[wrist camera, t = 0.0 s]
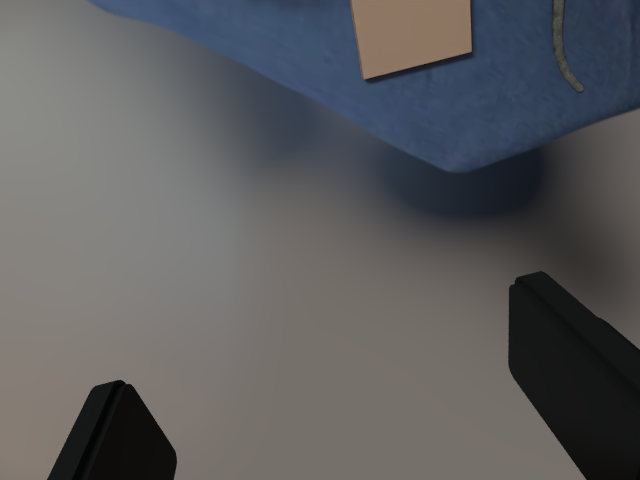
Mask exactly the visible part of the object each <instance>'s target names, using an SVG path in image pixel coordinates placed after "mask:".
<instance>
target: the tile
mask: <svg viewBox="0 0 640 480" xmlns="http://www.w3.org/2000/svg"><path fill="white" fill-rule="evenodd" d="M350 6H351V13H352V19H353V25H354V31H355V38H356V44H357V50H358V56H359V62H360V69H361V75H362V79H368V78H372V77H375V76H379V75H383V74H387V73H391V72H395V71H399V70H403V69H407V68H411V67H414V66H418V65H422V64H426V63H430V62H434V61H438V60H442V59H446V58H450V57H453V56H457V55H461V54H465V53H469V52H472V46H471V17H470V0H350Z"/></svg>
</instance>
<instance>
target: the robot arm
mask: <svg viewBox="0 0 640 480" xmlns="http://www.w3.org/2000/svg"><path fill="white" fill-rule="evenodd" d="M508 354H509V356H508V358H509V360H508V363H509V369H510V372H511V374H512V376H513V378H514V379H515V381H516V382H517V384H518V385H519V386H520V388H521V389H522V390H523V392H524V393H525V395H526V396H527V397H528V399H529V400H530V402H531V403H532V404H533V406H534V407H535V409H536V410H537V411H538V413H539V414H540V416H541V417H542V418H543V420H544V421H545V422H546V424H547V425H548V427H549V428H550V429H551V431H552V432H553V433H554V435H555V436H556V438H557V439H558V441H559V442H560V443H561V445H562V446H563V448H564V449H565V450H566V452H567V453H568V455H569V456H570V457H571V459H572V460H573V461H574V463H575V464H576V466H577V467H578V468H579V470H580V471H581V473H582V474H583V475H584V477H585V478H586V480H640V350H639V349H638V348H637V347H636V346H635V345H633V344H632V343H631V342H630V341H628V340H627V339H626V338H625V337H624V336H623V335H622V334H620V333H619V332H618V331H617V330H615V328H613V327H612V326H611V325H610V324H609V323H607V322H606V321H604V320H603V319H601V318H598V317H597V316H595V315H594V314H593V313H592V312H591V311H590V310H588V309H587V308H586V307H585V306H584V305H583V304H581V303H580V302H579V301H578V300H577V299H576V298H574V297H573V296H572V295H571V294H570V293H568V292H567V291H566V290H565V289H564V288H563V287H562V286H560V285H559V284H558V283H557V282H556V281H554V280H553V279H552V278H551V277H550V276H549V275H548V274H546V273H545V272H542V271H540V272H536V273H532V274H528V275H524V276H520V277H517V278H516V280H515V284H514V285H511V286H510V288H509V353H508ZM176 465H177V457H176V452H175V450H174V448H173V447H172V445H171V444H170V442H169V441H168V439H167V438H166V436H165V434H164V433H163V431H162V430H161V428H160V427H159V425H158V424H157V422H156V421H155V419H154V418H153V416H152V415H151V413H150V412H149V410H148V408H147V407H146V405H145V404H144V402H143V401H142V399H141V398H140V396H139V395H138V393H137V392H136V390H135V389H134V387H133V386H132V385H131V384H126V383H125V382H124V381H122V380H117V381H113V382H109V383H105V384H101V385H98V386H95V387H94V388H93V389H92V390H91V391H90V394H89V395H88V397H87V399H86V402H85V403H84V406H83V408H82V410H81V412H80V414H79V416H78V418H77V420H76V422H75V424H74V426H73V428H72V430H71V432H70V434H69V436H68V438H67V440H66V442H65V444H64V447H63V448H62V450H61V453H60V454H59V456H58V458H57V460H56V462H55V465H54V467H53V469H52V471H51V473H50V475H49V477H48V479H47V480H174V475H175V470H176Z"/></svg>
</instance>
